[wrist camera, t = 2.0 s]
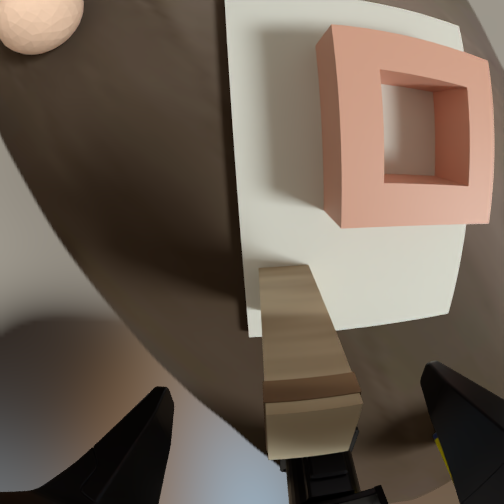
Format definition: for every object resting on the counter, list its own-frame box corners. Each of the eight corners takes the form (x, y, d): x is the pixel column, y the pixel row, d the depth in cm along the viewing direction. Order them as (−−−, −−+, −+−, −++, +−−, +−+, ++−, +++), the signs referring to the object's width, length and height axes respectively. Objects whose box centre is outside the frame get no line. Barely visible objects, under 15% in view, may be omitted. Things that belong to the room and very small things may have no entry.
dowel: (308, 308, 16) (349, 450, 8) (260, 311, 16) (267, 460, 8) (309, 263, 15) (364, 402, 7) (257, 266, 15) (263, 413, 7)
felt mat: (444, 309, 17) (448, 313, 16) (249, 332, 17) (248, 337, 17) (454, 28, 10) (458, 26, 10) (225, 0, 11) (224, -4, 10)
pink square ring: (455, 208, 14) (488, 223, 11) (323, 210, 14) (341, 228, 11) (454, 68, 11) (487, 60, 8) (315, 45, 11) (331, 24, 8)
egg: (93, -18, 9) (42, -57, 4) (106, 33, 11) (46, -1, 6) (34, 22, 10) (-26, 3, 5) (43, 75, 12) (-25, 65, 6)
